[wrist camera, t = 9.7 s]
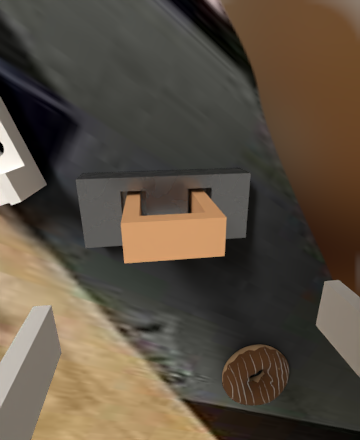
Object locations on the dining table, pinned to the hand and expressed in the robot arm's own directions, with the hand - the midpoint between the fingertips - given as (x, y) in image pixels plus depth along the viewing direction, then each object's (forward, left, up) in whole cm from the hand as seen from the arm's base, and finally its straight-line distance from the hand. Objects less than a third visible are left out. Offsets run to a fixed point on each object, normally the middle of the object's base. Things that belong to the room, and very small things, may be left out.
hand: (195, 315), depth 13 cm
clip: (0, 0, -20) cm, 20 cm away
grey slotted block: (0, 0, -21) cm, 21 cm away
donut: (+28, +13, -21) cm, 38 cm away
